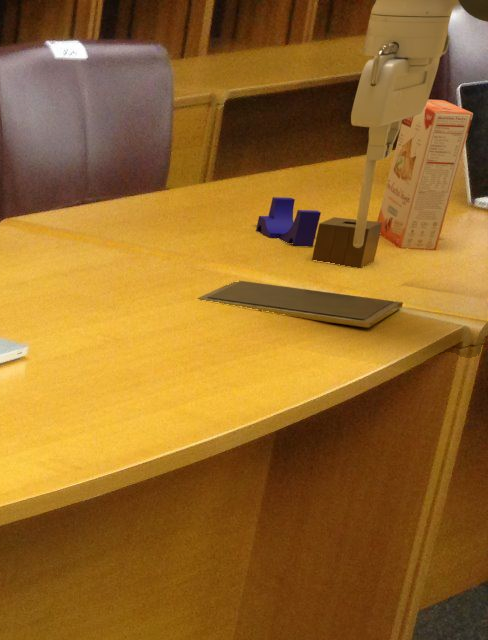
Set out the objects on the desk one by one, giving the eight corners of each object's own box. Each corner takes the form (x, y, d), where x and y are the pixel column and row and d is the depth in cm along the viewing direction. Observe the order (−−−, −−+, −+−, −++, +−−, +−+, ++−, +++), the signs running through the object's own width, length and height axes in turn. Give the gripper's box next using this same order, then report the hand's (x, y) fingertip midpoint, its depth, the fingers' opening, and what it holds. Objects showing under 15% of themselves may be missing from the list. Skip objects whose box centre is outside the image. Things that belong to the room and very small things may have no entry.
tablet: (401, 307, 204) (403, 301, 204) (368, 327, 194) (370, 321, 194) (235, 284, 217) (236, 279, 217) (196, 303, 207) (197, 297, 206)
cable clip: (254, 234, 249) (263, 196, 247) (282, 235, 249) (291, 197, 247) (282, 250, 239) (291, 211, 236) (311, 251, 239) (320, 212, 236)
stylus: (363, 247, 198) (381, 132, 193) (361, 248, 198) (379, 133, 192) (353, 246, 199) (371, 132, 193) (351, 248, 198) (368, 132, 193)
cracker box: (371, 231, 252) (406, 97, 242) (410, 234, 251) (447, 99, 241) (395, 250, 239) (433, 109, 230) (436, 252, 239) (476, 111, 229)
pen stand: (373, 263, 231) (382, 222, 228) (359, 270, 226) (369, 228, 223) (325, 257, 235) (333, 217, 232) (310, 264, 230) (319, 223, 227)
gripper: (408, 46, 178) (380, 170, 184) (453, 37, 192) (426, 152, 198) (352, 44, 182) (326, 165, 188) (400, 35, 196) (374, 148, 202)
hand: (378, 158), depth 193 cm, fingers closed on stylus, 1 cm apart
